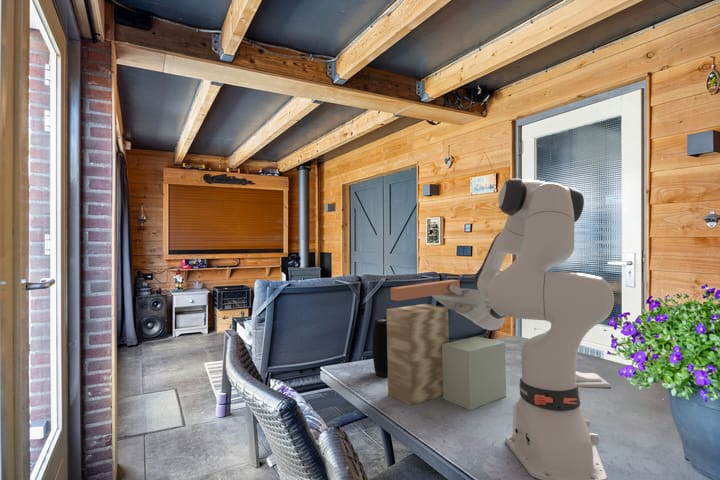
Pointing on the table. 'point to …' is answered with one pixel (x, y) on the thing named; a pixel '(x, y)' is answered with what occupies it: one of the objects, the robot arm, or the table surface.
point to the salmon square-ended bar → (422, 290)
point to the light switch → (590, 380)
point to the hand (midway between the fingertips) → (443, 285)
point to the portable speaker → (380, 346)
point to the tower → (416, 352)
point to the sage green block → (473, 371)
